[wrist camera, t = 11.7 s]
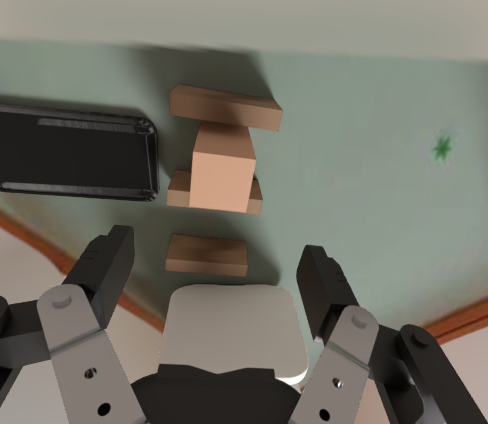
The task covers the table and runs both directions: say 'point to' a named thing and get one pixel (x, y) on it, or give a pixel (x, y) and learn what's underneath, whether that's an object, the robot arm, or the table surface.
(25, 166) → the phone
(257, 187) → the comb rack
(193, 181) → the plug block
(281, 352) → the cable organizer
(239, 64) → the table surface
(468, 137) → the table surface
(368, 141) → the table surface
